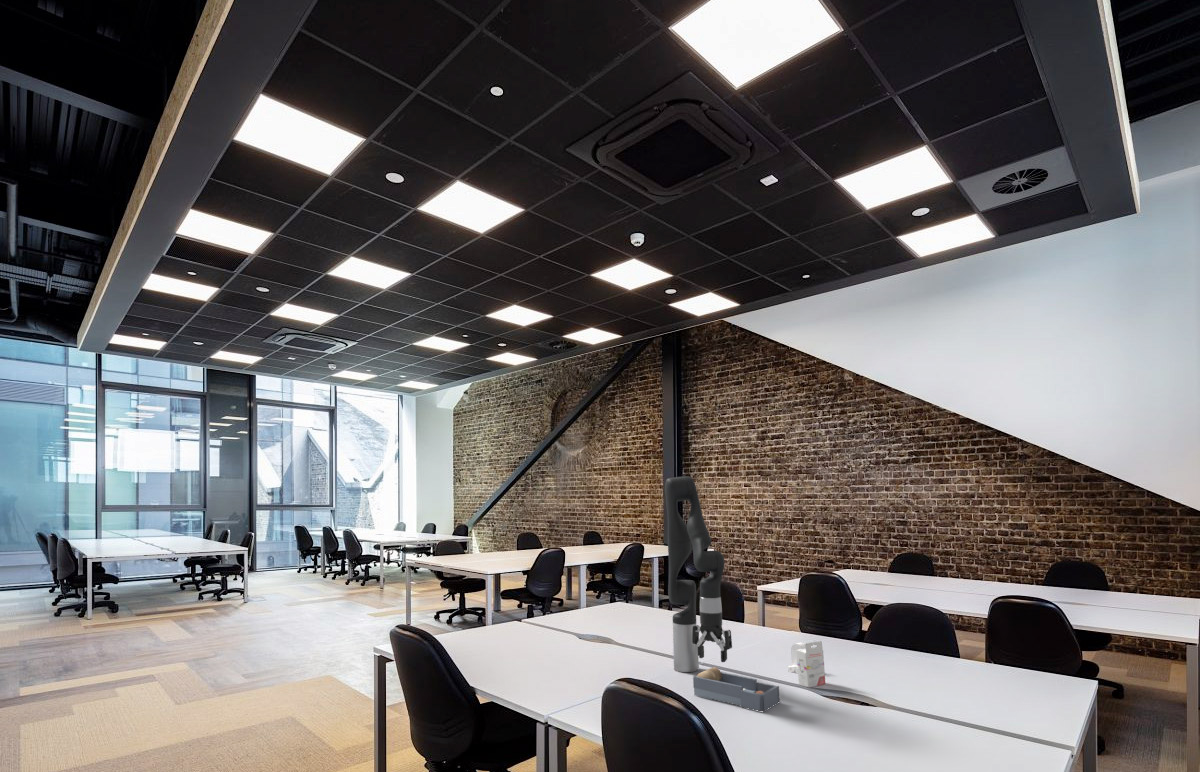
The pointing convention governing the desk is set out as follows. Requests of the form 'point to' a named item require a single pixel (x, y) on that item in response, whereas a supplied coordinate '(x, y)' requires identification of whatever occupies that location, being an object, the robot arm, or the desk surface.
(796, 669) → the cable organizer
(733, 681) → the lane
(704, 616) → the robot arm
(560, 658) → the desk surface
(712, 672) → the tan curved piece
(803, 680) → the ink cartridge box
